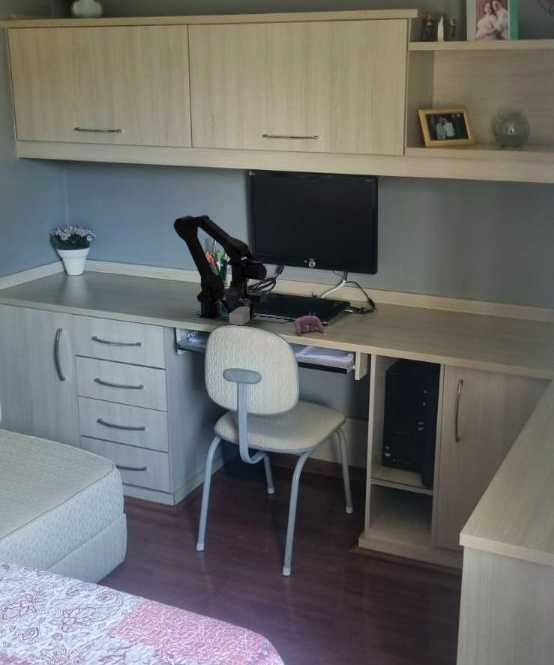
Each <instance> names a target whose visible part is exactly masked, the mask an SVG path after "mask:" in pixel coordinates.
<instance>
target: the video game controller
mask: <svg viewBox="0 0 554 665" xmlns="http://www.w3.org/2000/svg"><path fill="white" fill-rule="evenodd" d="M293 325H294V328H295V329H294V330H295V333H296V334H297V335H298V336H299V335H300V336H301V334H302V333H307V331H308V330H309V331H310V332H314V331H315V330H316V328H317V329H318V331H319V332H320V333H321V332H324V327H323V324H322V322H321V320H320V318H319V317H317V316H316V315H315V316H314V315H303V316H300V317H297V318H296V319H295V320H294V321H293ZM306 325H309V326H308V327H307V326H306Z"/></svg>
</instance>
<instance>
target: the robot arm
mask: <svg viewBox="0 0 554 665" xmlns="http://www.w3.org/2000/svg"><path fill="white" fill-rule="evenodd" d="M199 228H200V229H201V231H203V232H205V233H206V234H207V235H208V236H209V237H210V238H211V239H213V240H214V241H215V242H217V244H219V246H221V247H222V248H223V251H224V253H225V254H226V256H227V257H228V258H229V260H228V261H227V262H226V263H225V265H227V266H230V268H231V270H230V271H231V272H230V273H231V280H230V282H229V287H228V288H225V284H226V283H225V282H224V280H223V278H222V275H221V274H220V273H219V274H216V273H215V272H214V271H213V269H212V266H211V264H210V262H209V260H208V258H207V255H206V253H205V251H204V249H203V245H202V243H201V242H200V239H199V236H198V235H199ZM173 230H174V231H175V233H176V234H177V236H178V237H179V238H180V239H181V240H183V241H184V242H185V244H186V246H187V249H188V251H189V254H190V256H191V258H192V260H193V262H194V265H195V267H196V269H197V271H198V274H199V276H200V289H201V291H200V292H199V293H198V294H197V295H196V299H197V302H199V303H200V312H201V314H199V315H198V316H199V317H200V318H207V319H208V318H210V319H216V318H217V317H218V316H220V315H222V314H221V313H222V312H221V303H222V304H223V305H224V307H225V309H226V311H227V315H229V313H231V312H233V303H238V302H239V300H240V299H241V300H242V299H244V300H249V301H250V302H249V303H248V306H249V308H250V320H249V321H251V320H253V318H254V315H255V312H256V310H257V309H258V306H259V304H262V303H263V302H265V301H266V300H267V295H266V292H262V291H261V292H260V291H255V292H254V293H250V289H249V288H248V282H250V280H253V281H261V282H264V281H265V279H266V277H267V273H268V270H267V267H266V266H265V265H264V261H261V260H260V261H256V258H255V257H254V255H253V254H252V252H251V250H250V247H249V245H248V244H247V242H244V241H243V240H240V239H239V238H236V237H233V236H231V235H230V234H229V233H228V232H226V231H225V229H223V228H221V227H220V226H219V225H218V224H217V223H215V222H214V221H213V220H212V219H210V217H209V215H206V214H203V215H198V216H197V215H196V216H193V215H185V216H182V217H178V218H176V219H175V220H174V222H173ZM220 302H221V303H220Z"/></svg>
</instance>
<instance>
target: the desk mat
mask: <svg viewBox="0 0 554 665" xmlns="http://www.w3.org/2000/svg"><path fill="white" fill-rule="evenodd" d="M252 320H253V321H256V322H257V321H258V322H267V323H275V324H281V325H282V324H283V325H285V324H286V323H288V322H289V321H290V320H284V319H276V318H268V317H260V316H258V315H256V316H255V317H253V318H252Z"/></svg>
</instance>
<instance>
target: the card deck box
mask: <svg viewBox="0 0 554 665" xmlns="http://www.w3.org/2000/svg"><path fill="white" fill-rule="evenodd" d="M228 316H229V317H228V320H229V324H230V325H237V326H243V325H244V324H247V323H248V322H249V321H251V320H250V307H244V306H238V307H237V308H236V309H234V310H232V312H231V313H229V314H228Z"/></svg>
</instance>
